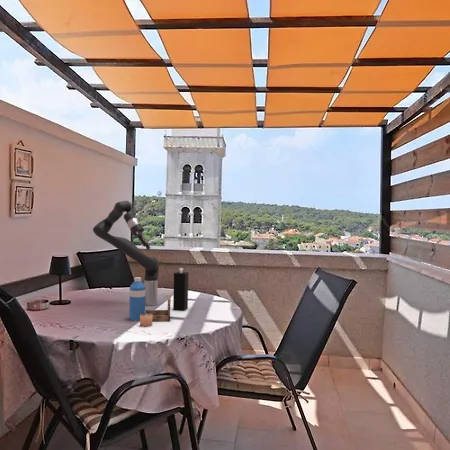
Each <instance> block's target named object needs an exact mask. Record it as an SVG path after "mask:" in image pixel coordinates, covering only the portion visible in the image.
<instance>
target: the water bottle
mask: <svg viewBox="0 0 450 450" xmlns="http://www.w3.org/2000/svg"><path fill="white" fill-rule="evenodd" d="M145 288H146V287H145V285H144V282H143V281H142V277H140V276H139V277H134V278H133V282H132V283H131V284H130V286H129V303H128V304H129V308H128V309H129V311H128V312H129V316H128V317H129V318H128V319H129V320H130V319H131V320H130V321H133V320H136V321H137V322H138V320H139V321H140V314H145V313H146V305H145Z"/></svg>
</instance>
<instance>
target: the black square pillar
mask: <svg viewBox="0 0 450 450" xmlns="http://www.w3.org/2000/svg"><path fill="white" fill-rule="evenodd" d="M178 269H179V271H175V272H174V273H173V298H172V299H173V300H172V304H173V305H172V309H173V311H180V312H181V311H186V310H187V309H188V308H189V306H188V305H189V303H188V302H189V271H184V267H179V268H178Z"/></svg>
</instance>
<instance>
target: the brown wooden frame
mask: <svg viewBox="0 0 450 450" xmlns="http://www.w3.org/2000/svg"><path fill="white" fill-rule="evenodd" d="M166 297H167V309H145V313H148V314H152V323H154V322H155V323H156V322H157V323H158V322H171V302H172V300H171V299H172V298H171V295H170V294H168V295H167V296H166Z"/></svg>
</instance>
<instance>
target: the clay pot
mask: <svg viewBox="0 0 450 450" xmlns="http://www.w3.org/2000/svg"><path fill="white" fill-rule="evenodd" d="M142 326H144V328H149V327H152V326H153V322H152V314H148V313H146V312H145V314H140V320H139V327H142ZM148 326H149V327H148Z"/></svg>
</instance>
